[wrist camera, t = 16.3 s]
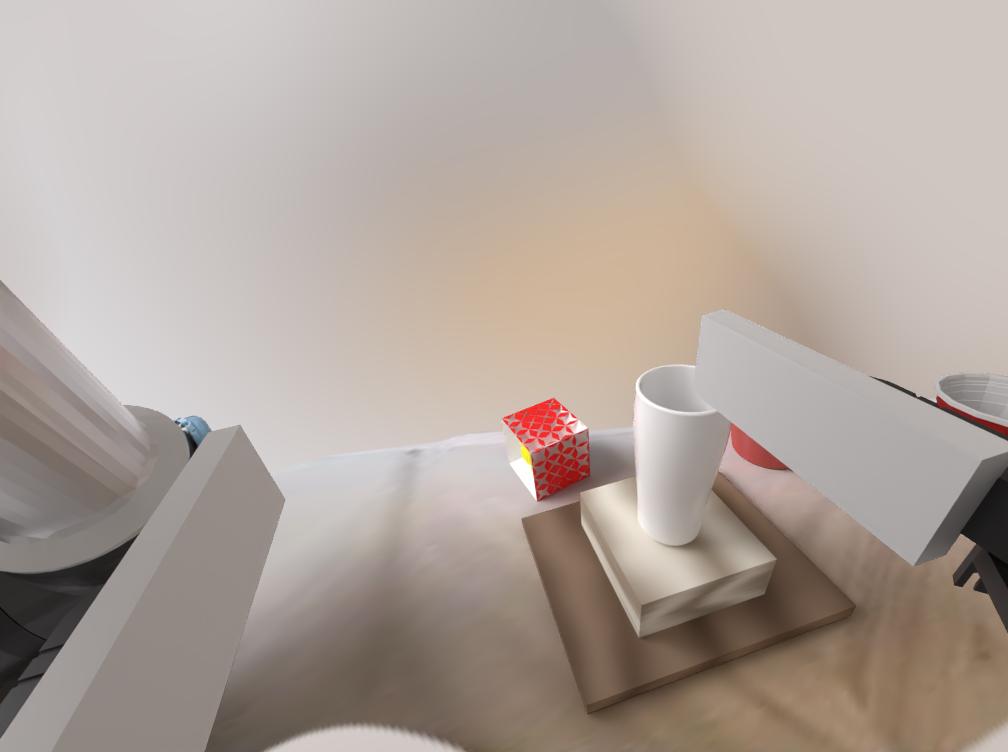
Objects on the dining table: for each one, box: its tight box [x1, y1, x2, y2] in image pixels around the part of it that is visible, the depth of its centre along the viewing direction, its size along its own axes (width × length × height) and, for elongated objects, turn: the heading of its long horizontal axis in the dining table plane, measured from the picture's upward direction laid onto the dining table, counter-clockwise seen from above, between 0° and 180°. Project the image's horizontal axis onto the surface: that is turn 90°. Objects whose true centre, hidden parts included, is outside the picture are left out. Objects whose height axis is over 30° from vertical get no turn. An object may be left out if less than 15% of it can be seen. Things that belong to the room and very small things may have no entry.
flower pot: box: [731, 423, 789, 469], centre depth 49 cm, size 11×11×10 cm
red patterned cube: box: [502, 398, 590, 501], centre depth 51 cm, size 8×8×8 cm
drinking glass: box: [633, 365, 732, 546], centre depth 32 cm, size 7×7×15 cm
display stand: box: [522, 471, 856, 714], centre depth 38 cm, size 24×18×6 cm
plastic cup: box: [934, 372, 1008, 436], centre depth 39 cm, size 11×11×12 cm
